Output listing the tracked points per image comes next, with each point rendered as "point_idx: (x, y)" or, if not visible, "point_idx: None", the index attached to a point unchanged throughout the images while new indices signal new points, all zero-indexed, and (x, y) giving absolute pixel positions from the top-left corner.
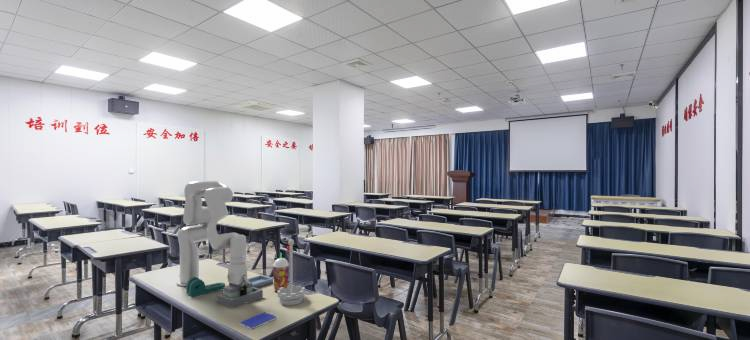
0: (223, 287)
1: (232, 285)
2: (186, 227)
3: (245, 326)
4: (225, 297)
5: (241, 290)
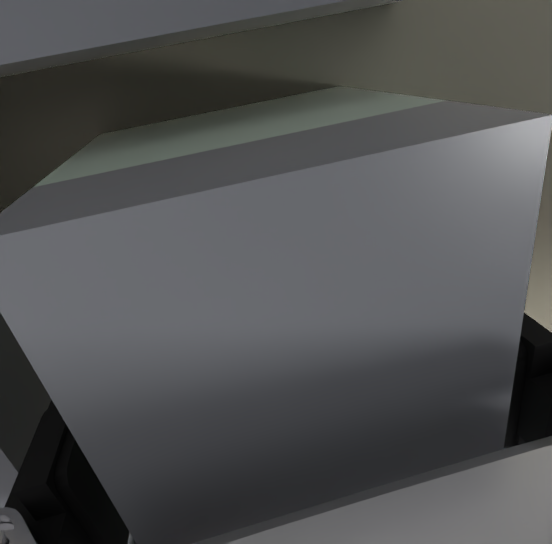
0: (533, 114)
1: (419, 413)
2: None
3: None
4: (52, 10)
5: (30, 484)
